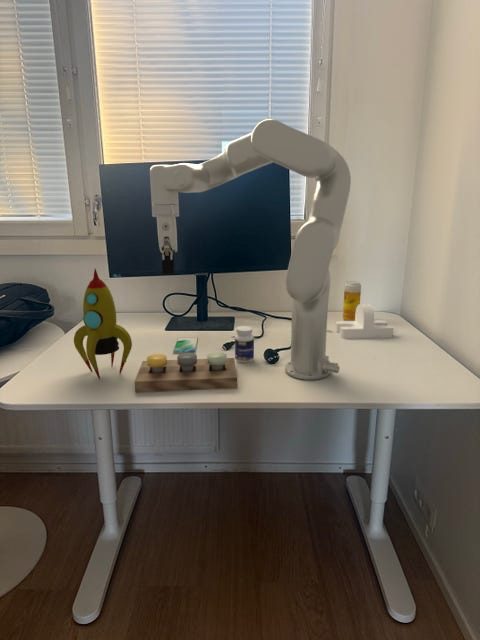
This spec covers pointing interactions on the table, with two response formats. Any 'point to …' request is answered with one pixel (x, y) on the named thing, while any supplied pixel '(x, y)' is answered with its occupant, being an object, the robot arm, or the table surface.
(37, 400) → the table surface
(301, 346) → the robot arm
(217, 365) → the button sage
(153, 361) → the button amber
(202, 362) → the console
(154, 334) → the table surface
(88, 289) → the toy rocket
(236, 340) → the pill bottle
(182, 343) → the smartphone
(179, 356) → the grey rounded lump
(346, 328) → the u-slot stand
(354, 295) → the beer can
